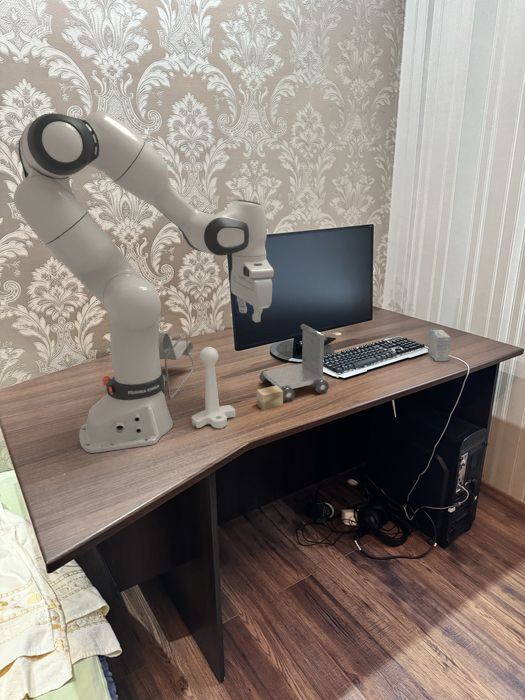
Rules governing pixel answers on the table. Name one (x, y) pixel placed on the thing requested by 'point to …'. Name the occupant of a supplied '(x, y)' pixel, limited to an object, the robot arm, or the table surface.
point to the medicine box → (439, 345)
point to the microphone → (329, 340)
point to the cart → (301, 367)
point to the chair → (174, 353)
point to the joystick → (212, 395)
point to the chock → (269, 397)
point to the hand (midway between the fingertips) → (249, 316)
